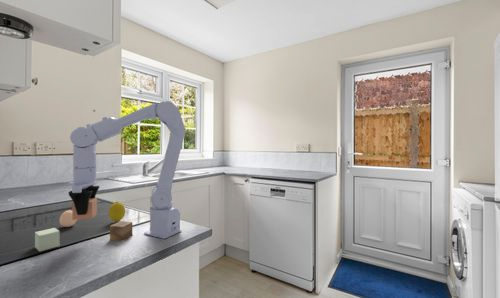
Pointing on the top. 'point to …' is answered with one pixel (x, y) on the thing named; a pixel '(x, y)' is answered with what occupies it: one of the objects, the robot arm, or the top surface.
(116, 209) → the lemon
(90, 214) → the terracotta block
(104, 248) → the top surface
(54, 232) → the sage block
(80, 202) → the robot arm
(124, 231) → the walnut block
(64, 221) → the egg
